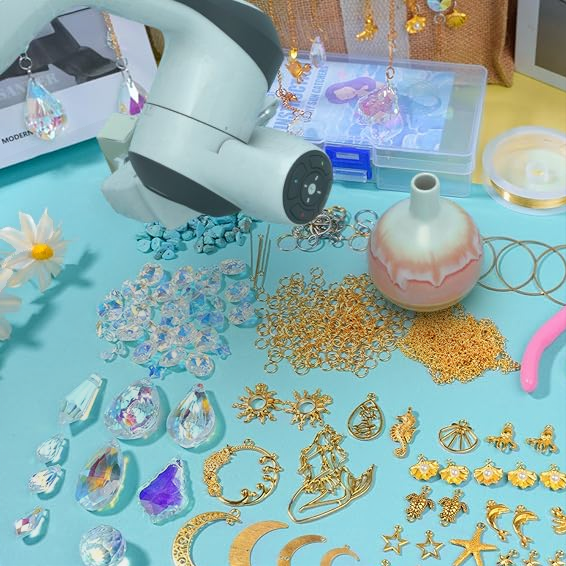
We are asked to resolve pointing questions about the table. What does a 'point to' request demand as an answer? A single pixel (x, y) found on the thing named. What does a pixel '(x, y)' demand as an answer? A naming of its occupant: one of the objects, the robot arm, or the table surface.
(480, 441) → the table surface
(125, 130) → the box
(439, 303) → the vase
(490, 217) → the table surface
